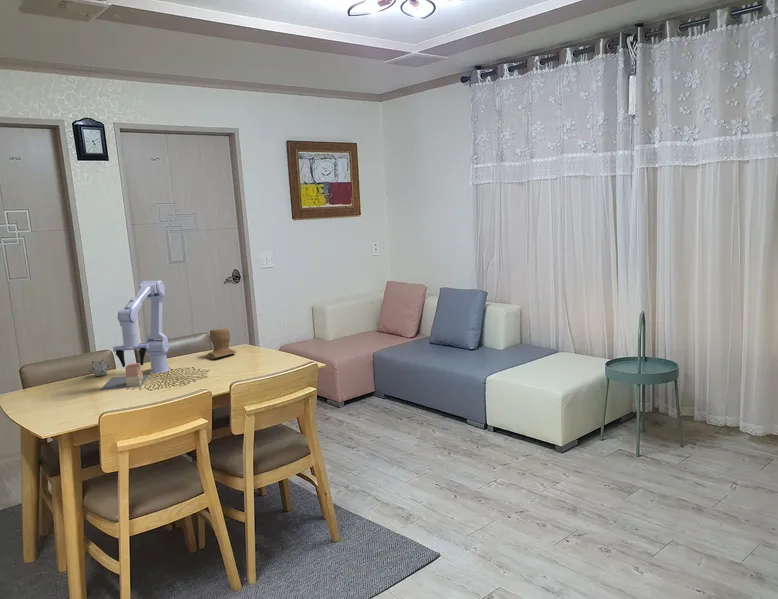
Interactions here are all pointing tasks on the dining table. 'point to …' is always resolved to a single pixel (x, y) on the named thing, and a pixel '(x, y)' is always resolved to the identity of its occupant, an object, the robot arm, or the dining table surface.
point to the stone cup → (220, 343)
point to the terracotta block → (133, 370)
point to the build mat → (120, 383)
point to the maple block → (134, 380)
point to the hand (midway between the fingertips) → (133, 365)
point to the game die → (99, 368)
